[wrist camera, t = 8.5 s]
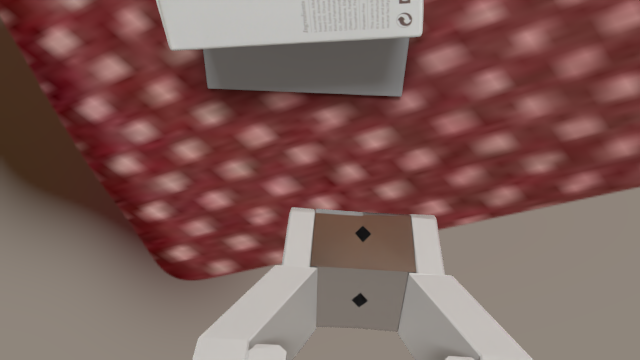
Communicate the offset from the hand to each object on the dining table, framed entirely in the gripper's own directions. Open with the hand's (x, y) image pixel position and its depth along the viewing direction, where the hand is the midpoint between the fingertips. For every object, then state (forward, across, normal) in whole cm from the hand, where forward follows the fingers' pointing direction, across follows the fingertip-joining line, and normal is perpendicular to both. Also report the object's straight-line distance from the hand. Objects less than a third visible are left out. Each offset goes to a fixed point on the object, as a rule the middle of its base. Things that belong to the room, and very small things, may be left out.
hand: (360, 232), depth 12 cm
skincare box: (+18, -3, 0) cm, 19 cm away
